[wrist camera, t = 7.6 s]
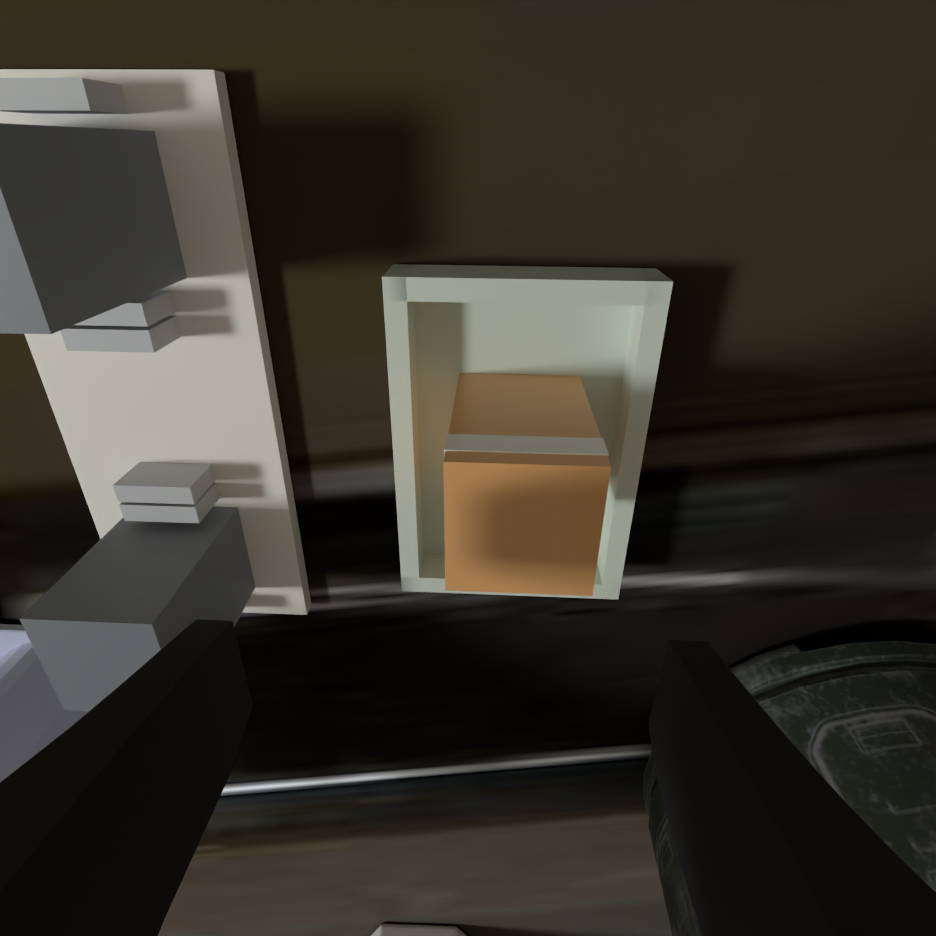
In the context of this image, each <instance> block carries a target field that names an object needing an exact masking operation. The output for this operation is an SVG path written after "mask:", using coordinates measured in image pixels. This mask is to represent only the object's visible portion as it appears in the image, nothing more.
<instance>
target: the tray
mask: <svg viewBox="0 0 936 936" xmlns="http://www.w3.org/2000/svg"><path fill="white" fill-rule="evenodd" d="M382 285H383V300H384V316H385V332H386V348H387V364H388V379H389V395H390V411H391V427H392V443H393V458H394V474H395V490H396V506H397V522H398V537H399V553H400V569H401V585H402V591H413V592H439V593H465V594H491V595H517V596H543V597H569V598H595V599H618V598H619V592H620V586H621V580H622V574H623V569H624V563H625V557H626V551H627V546H628V540H629V534H630V528H631V523H632V517H633V511H634V505H635V499H636V494H637V488H638V482H639V476H640V471H641V465H642V459H643V453H644V448H645V442H646V436H647V430H648V424H649V419H650V413H651V407H652V401H653V396H654V390H655V384H656V378H657V373H658V367H659V361H660V355H661V349H662V344H663V338H664V332H665V326H666V321H667V315H668V309H669V303H670V298H671V292H672V286H673V281H672V280H671V279H669V278H668V277H667V276H665V275H664V274H663V273H661V272H660V271H659V270H658V269H656V268H606V267H542V266H478V265H415V264H393V265H392V266H391V268H390V269H389V270H388V271H387V272H386V273H385V274H384V275H383V276H382ZM459 373H483V374H525V375H567V376H580V378H581V381H582V384H583V387H584V390H585V393H586V396H587V399H588V401H589V404H590V407H591V410H592V413H593V416H594V419H595V422H596V424H597V427H598V430H599V433H600V436H601V438H603V439H604V442H605V445H606V448H607V450H608V453H609V457H608V459H609V462H610V465H611V472H610V479H609V485H608V492H607V499H606V506H605V513H604V520H603V527H602V534H601V541H600V547H599V554H598V561H597V568H596V575H595V582H594V589H593V596H578V595H552V594H526V593H500V592H474V591H449V590H445V540H444V475H443V461H444V447H445V441H446V436H447V434H448V433H449V428H450V423H451V417H452V412H453V406H454V401H455V395H456V390H457V384H458V379H459Z"/></svg>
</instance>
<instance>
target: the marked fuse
mask: <svg viewBox="0 0 936 936" xmlns="http://www.w3.org/2000/svg"><path fill="white" fill-rule="evenodd" d="M608 457H609V453H608V450H607V448H606V445H605V442H604V439H603V438H601V436H600V433H599V430H598V427H597V424H596V422H595V419H594V416H593V413H592V410H591V407H590V404H589V401H588V399H587V396H586V393H585V390H584V387H583V384H582V381H581V378H580V376H567V375H525V374H483V373H459V379H458V384H457V390H456V395H455V401H454V406H453V412H452V417H451V423H450V428H449V433H448V434H447V436H446V441H445V447H444V461H443V475H444V540H445V590H449V591H474V592H500V593H526V594H552V595H578V596H593V589H594V582H595V575H596V568H597V561H598V554H599V547H600V541H601V534H602V527H603V520H604V513H605V506H606V499H607V492H608V485H609V479H610V472H611V465H610V462H609V459H608Z"/></svg>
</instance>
